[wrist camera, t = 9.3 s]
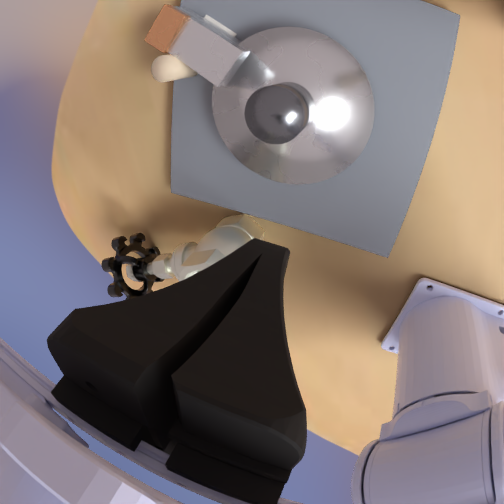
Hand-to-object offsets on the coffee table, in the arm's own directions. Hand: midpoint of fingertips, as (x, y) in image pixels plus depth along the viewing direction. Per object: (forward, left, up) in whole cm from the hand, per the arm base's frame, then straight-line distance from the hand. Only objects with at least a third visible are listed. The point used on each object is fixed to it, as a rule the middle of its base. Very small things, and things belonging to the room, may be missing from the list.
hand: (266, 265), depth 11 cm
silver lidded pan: (+4, -5, -9) cm, 11 cm away
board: (+2, -4, -10) cm, 11 cm away
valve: (+8, +8, -11) cm, 16 cm away
